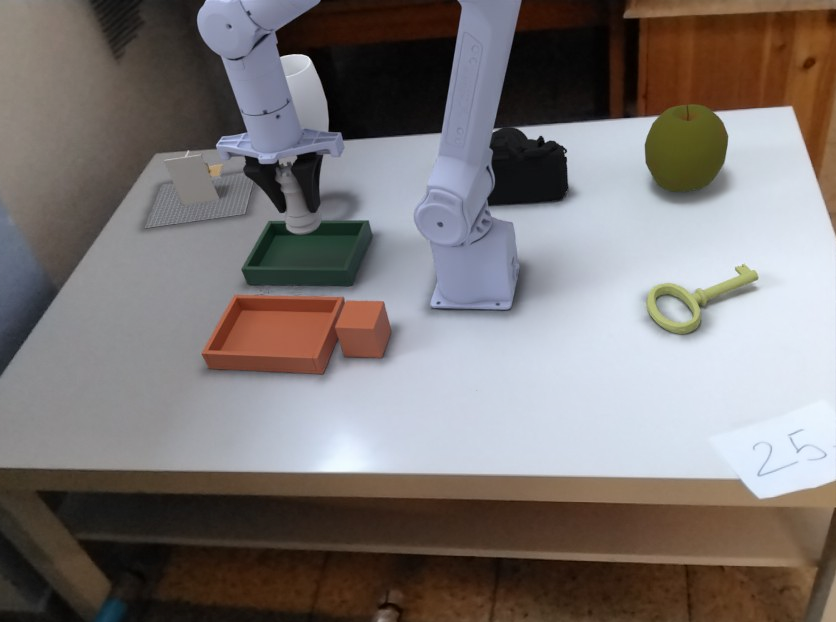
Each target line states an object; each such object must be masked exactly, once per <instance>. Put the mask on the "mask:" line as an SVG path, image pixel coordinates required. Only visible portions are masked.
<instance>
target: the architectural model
mask: <svg viewBox="0 0 836 622" xmlns="http://www.w3.org/2000/svg"><path fill="white" fill-rule="evenodd" d="M189 153H190V150H188V149H187V152H186V153H185V155H184V156H182V157H174V158H168V159H163V162H164V165H165V168H167V172H168V174H169V176H170V178H171V182H172V183H165V184H161V186H160V189H159V191H158V194H157V195H156V196H157V197H156V199H155V202H154V203H153V206H152V209H151V212H150V214H149V216H148V218H147V221H146V224H145V226H144V229H149V228H157V227H163V226H169V225H171V226H172V225H178V224H184V223H191V222H198V221H205V220H213V219H219V218H226V217H234V216H241V215H246V211H247V207H248V203H249V200H250V196H251V192H252V189H253V185H254V183H255V182H254V181H252V180H251V179H250V178H248V177H247V176H245V174H244V172H239V173H232V174H225V175H222V172H223V169H224V164H223V163H220V164H214V165H209V164H208V162H205V160H204V158H203V154H201V153H200V154H194V155H189Z"/></svg>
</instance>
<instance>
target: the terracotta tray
mask: <svg viewBox="0 0 836 622" xmlns="http://www.w3.org/2000/svg"><path fill="white" fill-rule="evenodd" d="M345 302H346V300H345V297H344V296H322V295H321V296H319V295H317V296H316V295H310V296H309V295H271V294H270V295H269V294H268V295H267V294H265V295H264V294H233V296H232V298H231V300H230V301H229V303H228V305H227V307H226V308H225V310H224V312H223V314H222V315H221V317H220V319H219V321H218V323H217V325H216V326H215V328H214V330H213V331H212V333H211V336H210V337H209V339H208V341H207V343H206V344H205V346H204V348H203V349H202V352H201V356H202V358H203V360H204V362H205V364H206V366H207V368H208V369H209V370H230V371H249V372H273V373H292V374H293V373H295V374H296V373H297V374H313V375H314V374H315V375H323V374H324V373H325V370H326V368H327V366H328V363H329V361H330V358H331V357H332V353H333V351H334V349H335V346H336V343H337V341H338V340H339V338H338V335H337V332H336V329H335V326H336V324H337V321H338V319H339V316H340V314H341V312H342V309H343V307H344V305H345Z"/></svg>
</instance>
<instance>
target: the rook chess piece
mask: <svg viewBox="0 0 836 622" xmlns="http://www.w3.org/2000/svg"><path fill="white" fill-rule="evenodd" d="M293 163H294V162H292V161H286V165H284V163H279V164H280V165H279V166H280V169H279V167H277V168H276V173H277V174H276V176H275V180H276V181H277V182H279V183H280V184H281V185H282V186H281V191H282V192H284V195H285V200H286V210H285V213H284V216H283V218H284V220H283V221H285V223H286V227H287V229H288V230H289V231H290V232H292V233H294V234H298V235H303V234H308V233H311V232H312V231H314V230H316V229H317V228H318V227H319V225H320V223H321V221H323V217H322V214H320V210H319V208H318V210H317V212H316V213H310V211H309V209H308V207H307V204H306V201H305V198H304V194H303V191H302V189H301V187H300V185H299V183H298V181H297V180H296V178H295V176H294V175H293V174H292V172H291V170H290V169H291V167H292V165H293Z"/></svg>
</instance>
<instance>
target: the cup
mask: <svg viewBox="0 0 836 622" xmlns="http://www.w3.org/2000/svg"><path fill="white" fill-rule="evenodd" d="M280 60H281V63H282V67H283V70H284V73H285V77H286V80H287V83H288V87H289V90H290V94H291V97H292V100H293V103H294V107H295V110H296V113H297V117H298V120H299V123H300V127H304V128H310V129H315V130H320V131H325V132H329V126H330V125H329V124H330V123H329V122H330V119H329V109H328V100H327V98H326V95H325V91H324V88H323V84H322V81H321V79H320V76H319V74H318V73H317V70H316V68H315V65H314V63H313V61H312V59H311V58H310V57H309V56H307V55H305V54H298V53H297V54H288V55H283V56H280Z"/></svg>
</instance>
